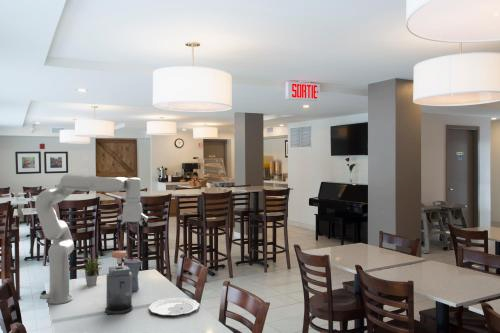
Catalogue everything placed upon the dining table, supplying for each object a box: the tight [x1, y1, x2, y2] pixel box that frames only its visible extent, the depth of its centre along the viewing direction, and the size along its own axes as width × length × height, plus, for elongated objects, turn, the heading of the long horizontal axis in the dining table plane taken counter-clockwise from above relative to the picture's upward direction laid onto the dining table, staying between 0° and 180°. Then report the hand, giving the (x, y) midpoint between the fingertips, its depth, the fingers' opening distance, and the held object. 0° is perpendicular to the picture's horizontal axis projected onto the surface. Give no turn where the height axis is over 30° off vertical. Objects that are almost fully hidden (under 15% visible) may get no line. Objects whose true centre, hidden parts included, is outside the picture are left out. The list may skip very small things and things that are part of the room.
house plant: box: [81, 257, 103, 287], centre depth 249 cm, size 14×14×16 cm
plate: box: [148, 297, 201, 317], centre depth 211 cm, size 25×25×2 cm
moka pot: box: [118, 255, 143, 294], centre depth 240 cm, size 10×15×20 cm, turn 78°
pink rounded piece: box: [111, 250, 128, 265], centre depth 208 cm, size 7×7×6 cm
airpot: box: [105, 265, 134, 316], centre depth 208 cm, size 13×19×21 cm
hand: (132, 232), depth 226 cm, fingers open, 9 cm apart
